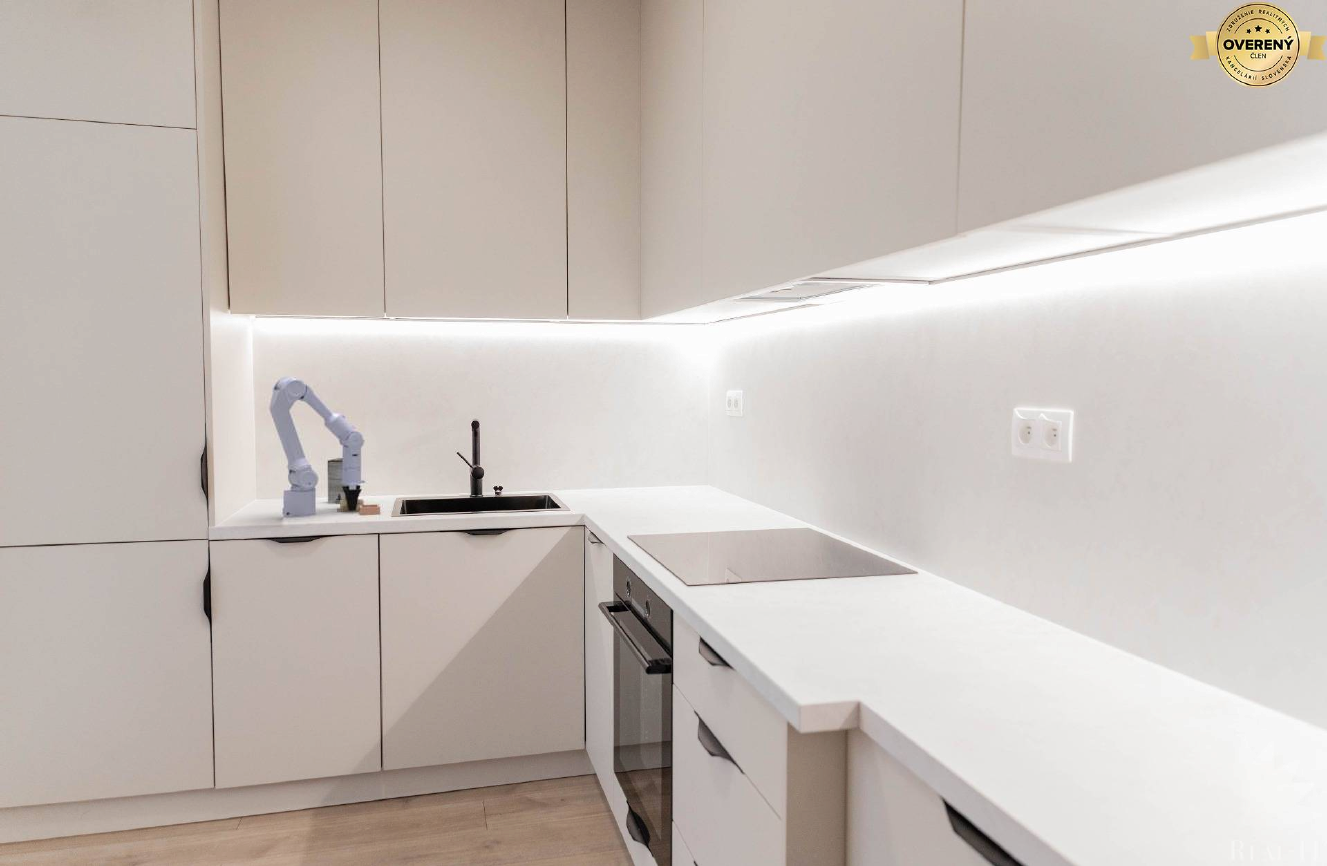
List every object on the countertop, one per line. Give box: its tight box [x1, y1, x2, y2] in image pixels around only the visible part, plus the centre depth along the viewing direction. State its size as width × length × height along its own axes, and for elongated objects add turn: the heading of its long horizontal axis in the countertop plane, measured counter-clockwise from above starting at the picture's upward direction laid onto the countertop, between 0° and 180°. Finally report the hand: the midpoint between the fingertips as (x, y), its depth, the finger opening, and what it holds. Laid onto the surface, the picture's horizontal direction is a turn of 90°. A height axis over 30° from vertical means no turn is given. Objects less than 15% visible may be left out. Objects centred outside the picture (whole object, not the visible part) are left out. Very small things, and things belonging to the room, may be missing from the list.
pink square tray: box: [358, 503, 381, 516], centre depth 261 cm, size 6×6×4 cm
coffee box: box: [327, 457, 348, 505], centre depth 283 cm, size 9×6×16 cm
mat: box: [336, 508, 354, 513], centre depth 267 cm, size 9×7×1 cm
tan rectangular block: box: [339, 498, 365, 512], centre depth 267 cm, size 7×5×3 cm
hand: (351, 508), depth 267 cm, fingers closed on tan rectangular block, 5 cm apart
